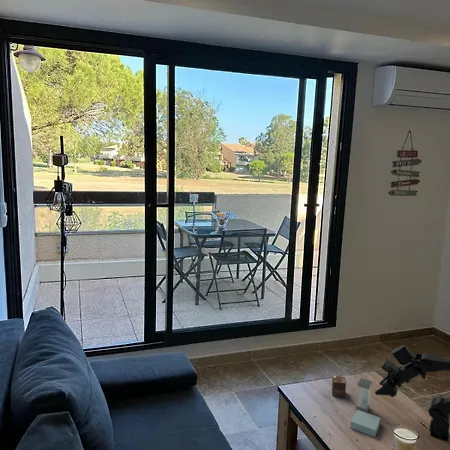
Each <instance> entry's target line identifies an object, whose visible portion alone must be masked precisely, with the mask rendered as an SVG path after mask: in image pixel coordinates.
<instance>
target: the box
mask: <svg viewBox="0 0 450 450" xmlns="http://www.w3.org/2000/svg"><path fill="white" fill-rule="evenodd" d="M331 378H332V381H331V395H332V397H339V398H346V390H347V381H346V377H345V376H337V375H332V377H331Z"/></svg>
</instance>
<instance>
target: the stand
mask: <svg viewBox="0 0 450 450" xmlns="http://www.w3.org/2000/svg"><path fill="white" fill-rule="evenodd" d="M381 421H382V417H380V416H377V415H374V414H371V413H369V412H368V413H365V412H362V411H360V410H355V413H354V414H353V417H352V419H351V421H350V429H352V430H355V431H358V432H361V433H363V434H365V435H368V436H371V437H374V438H375V437H376V436H377V433H378V431H379V428H380V426H381Z"/></svg>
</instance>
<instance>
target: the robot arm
mask: <svg viewBox="0 0 450 450" xmlns="http://www.w3.org/2000/svg"><path fill="white" fill-rule="evenodd" d="M390 353H391V355H392V356H393V357H394V358H395V360H396V361H397V363H398V364H399V365H400V366H398V365H396V364H395V363H394V362H392V361H391V360H390V359H388V358H386V359H385V360H384V361H383V363H382V364H381V366H380V368H381V370H383V371H384V372H385V373H386V374H387V375H385V377H384V378H383V379H382V380H381V381H380V382H378V383H379V385H380V386H381V387H380V388H378V389H377V390H376V391H374V394H375V395H376V396H390V397H391V398H394V397H396V396H397V395H398V392H399V389H398V388H401V387H402V385H403V384H405V383H406V384H409V383H410V381H411V380H414V379H416V378H417V377H420V376H421V378H422V379H423V380H426V378H427V373H437V372H441V371H446V372H447V371H449V372H450V358H444V357H441V356H439V355H436V354H433V353H428V352H427V353H415V352H413V353H412V352H411V350H409V348H408V346H407V345H406V344H403V345H400V346H397V347H396V348H394V349H393V350H392V351H391V352H390ZM428 415H429V416H430V417H431V418H432V419H430V424H429V432H430V433H429V436H431V437H433V438H436V439H440V440H442V441H444V442H449V434H450V432H449V431H450V397H443V395H442V394H440V395H438V396H436V397H432V399H431V400H430V402H429V408H428Z"/></svg>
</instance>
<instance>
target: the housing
mask: <svg viewBox="0 0 450 450" xmlns="http://www.w3.org/2000/svg"><path fill="white" fill-rule="evenodd" d="M372 386H373V381H371V380H368V379H364V378H362V377H360V379H359V380H358V383H357V387H358V391H357V392H358V393H357V404H356V406H355V411H357V410H360V411H362V412H365V413H368V414H369V411H370V409H371V408H370V407H371V405H370V398H371V388H372Z"/></svg>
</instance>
